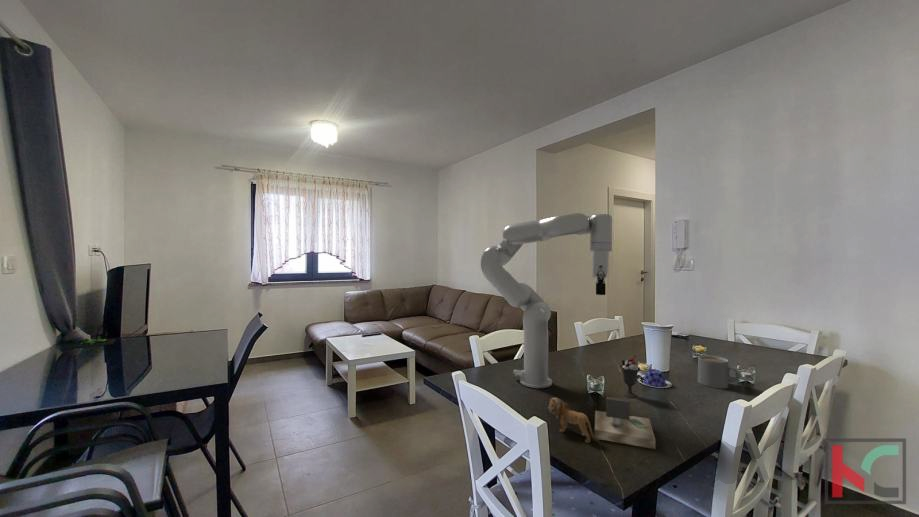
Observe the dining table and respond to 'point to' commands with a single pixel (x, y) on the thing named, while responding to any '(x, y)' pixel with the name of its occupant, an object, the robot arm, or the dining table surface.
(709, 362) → the coffee mug
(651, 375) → the plate of grapes
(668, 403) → the dining table surface
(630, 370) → the sundae
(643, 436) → the dial board
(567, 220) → the robot arm
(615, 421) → the latch
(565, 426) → the lion figurine
